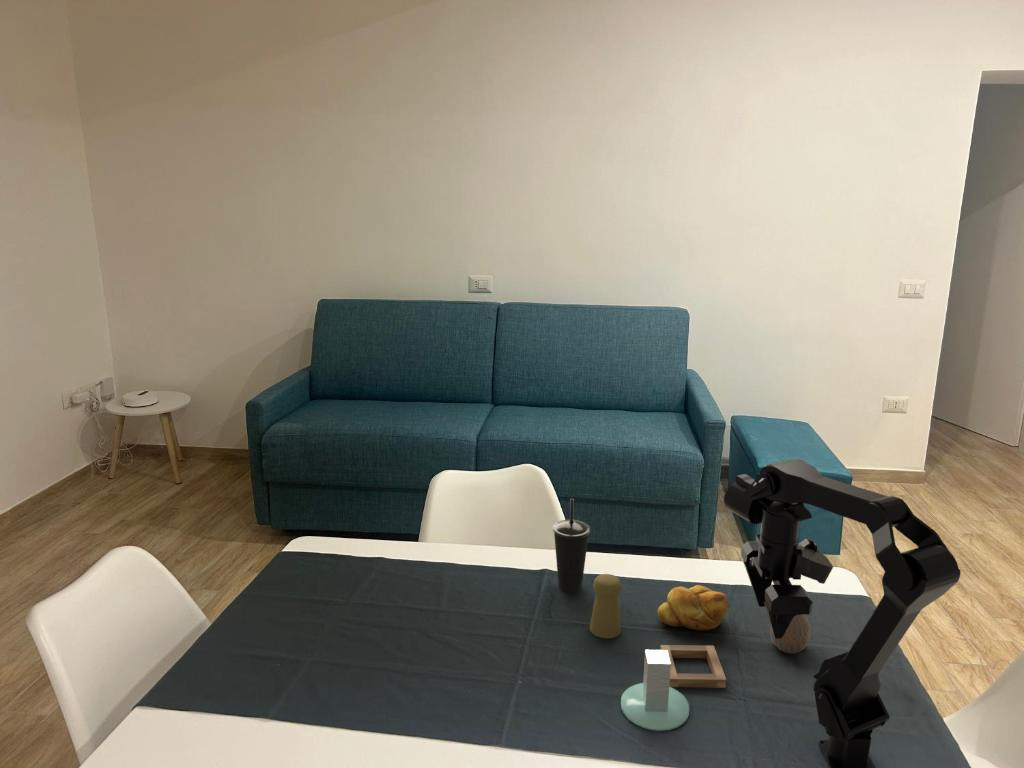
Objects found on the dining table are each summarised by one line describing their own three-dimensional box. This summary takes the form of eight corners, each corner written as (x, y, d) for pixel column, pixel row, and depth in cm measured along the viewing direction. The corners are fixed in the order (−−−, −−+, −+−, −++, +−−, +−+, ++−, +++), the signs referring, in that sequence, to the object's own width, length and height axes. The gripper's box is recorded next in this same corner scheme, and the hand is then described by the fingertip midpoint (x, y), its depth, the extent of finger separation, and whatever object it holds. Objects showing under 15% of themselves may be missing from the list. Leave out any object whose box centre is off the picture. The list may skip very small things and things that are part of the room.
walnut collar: (725, 687, 135) (726, 679, 134) (668, 686, 135) (669, 678, 135) (713, 653, 144) (713, 645, 144) (659, 652, 144) (660, 645, 144)
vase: (810, 660, 142) (816, 617, 140) (770, 656, 143) (775, 613, 141) (805, 638, 149) (810, 597, 146) (766, 634, 150) (770, 593, 147)
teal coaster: (695, 731, 125) (695, 728, 125) (624, 730, 125) (625, 727, 125) (682, 685, 135) (682, 682, 135) (617, 685, 136) (617, 682, 135)
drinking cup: (545, 582, 168) (546, 495, 162) (577, 574, 171) (579, 488, 165) (562, 600, 161) (564, 510, 155) (595, 592, 164) (598, 503, 158)
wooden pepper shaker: (584, 633, 150) (586, 581, 147) (596, 617, 155) (598, 566, 152) (614, 641, 147) (616, 589, 144) (626, 625, 153) (628, 574, 150)
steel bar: (667, 711, 128) (670, 664, 126) (645, 711, 128) (647, 663, 126) (664, 697, 132) (667, 650, 129) (642, 696, 132) (645, 649, 129)
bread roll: (658, 633, 150) (660, 595, 148) (655, 605, 160) (657, 569, 157) (727, 637, 149) (731, 600, 147) (720, 609, 158) (723, 573, 156)
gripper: (852, 566, 117) (840, 657, 122) (810, 510, 135) (800, 592, 140) (776, 565, 118) (767, 656, 122) (744, 510, 136) (736, 591, 140)
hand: (769, 621), depth 131 cm, fingers open, 9 cm apart
